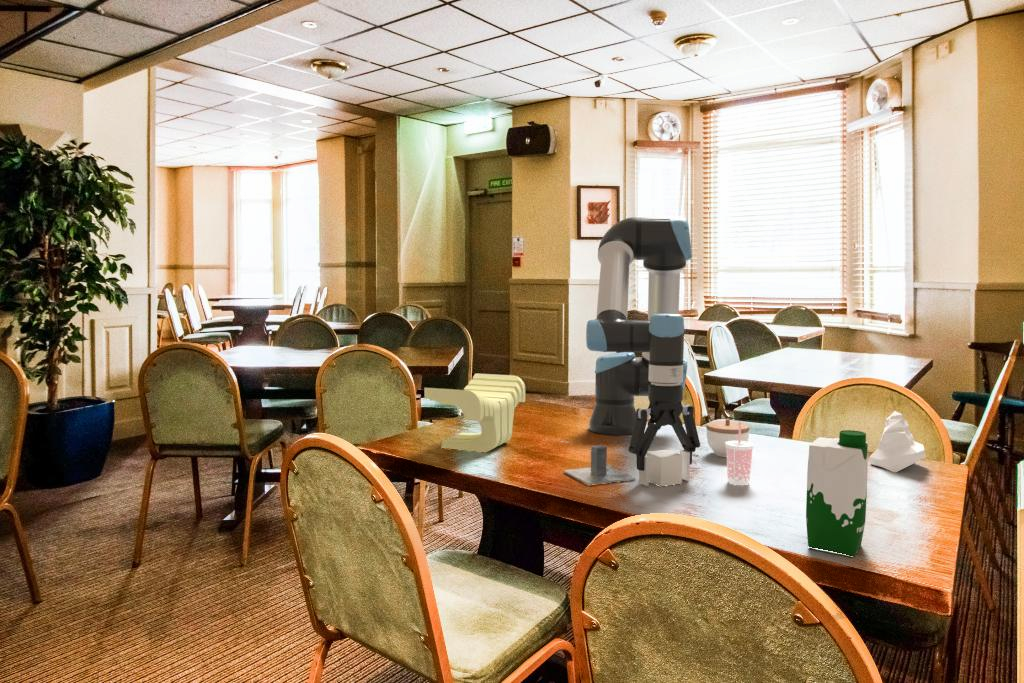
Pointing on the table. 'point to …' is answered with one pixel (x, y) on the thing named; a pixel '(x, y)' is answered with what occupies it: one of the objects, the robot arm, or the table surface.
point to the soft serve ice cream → (897, 446)
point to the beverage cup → (739, 460)
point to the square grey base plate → (599, 469)
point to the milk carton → (837, 492)
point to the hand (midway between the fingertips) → (664, 481)
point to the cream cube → (665, 467)
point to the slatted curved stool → (483, 409)
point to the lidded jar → (724, 435)
